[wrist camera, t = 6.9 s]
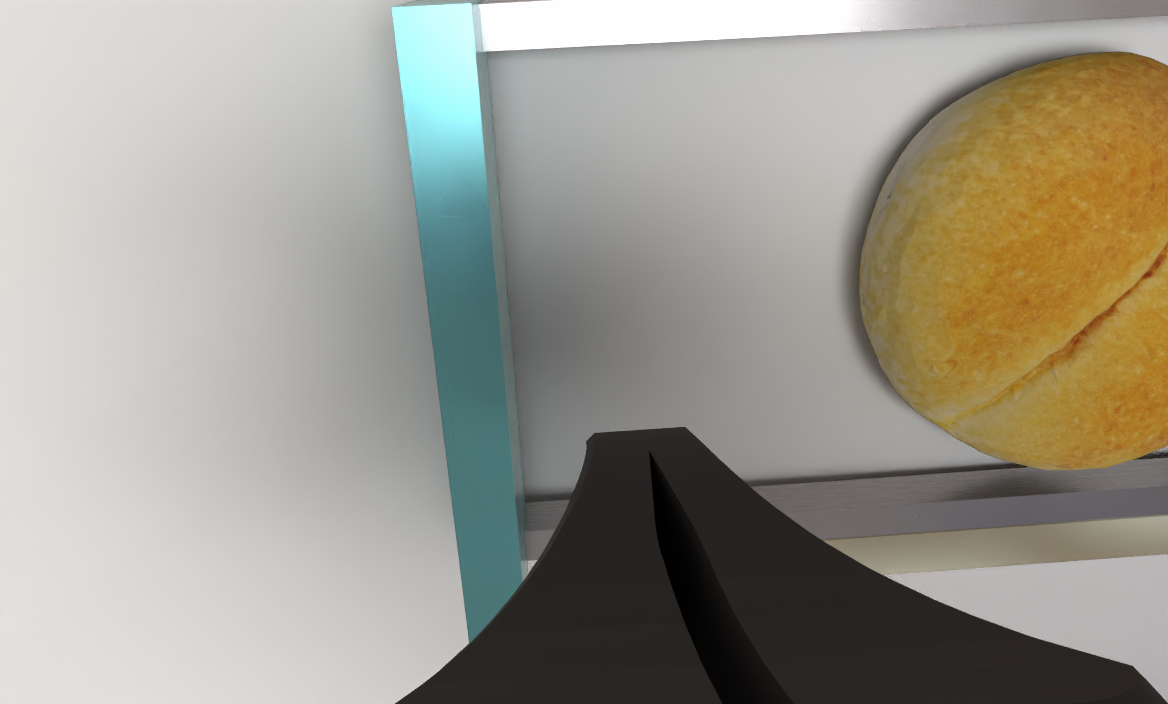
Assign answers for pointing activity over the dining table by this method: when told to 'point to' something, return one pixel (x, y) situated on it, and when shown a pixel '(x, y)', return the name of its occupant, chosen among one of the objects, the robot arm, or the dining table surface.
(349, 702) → the dining table surface
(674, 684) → the robot arm
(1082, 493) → the drawer
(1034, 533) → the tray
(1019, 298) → the bread roll
